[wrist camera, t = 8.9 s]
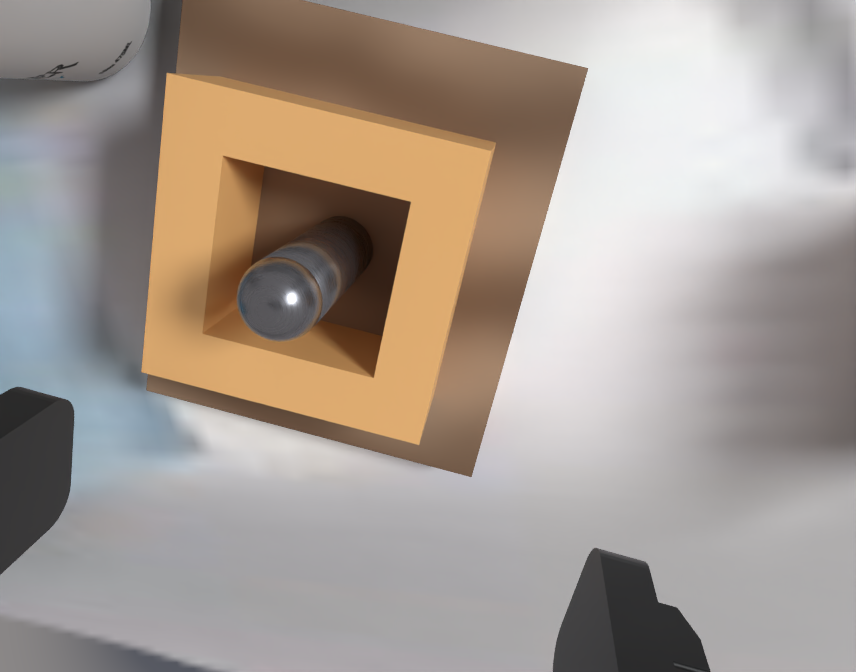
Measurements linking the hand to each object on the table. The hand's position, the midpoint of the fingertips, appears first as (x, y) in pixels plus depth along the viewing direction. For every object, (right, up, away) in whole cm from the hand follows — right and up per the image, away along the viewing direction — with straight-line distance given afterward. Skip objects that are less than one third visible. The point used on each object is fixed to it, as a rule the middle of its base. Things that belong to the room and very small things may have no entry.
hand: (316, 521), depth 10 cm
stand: (-1, +7, +18) cm, 19 cm away
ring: (-2, +6, +16) cm, 17 cm away
